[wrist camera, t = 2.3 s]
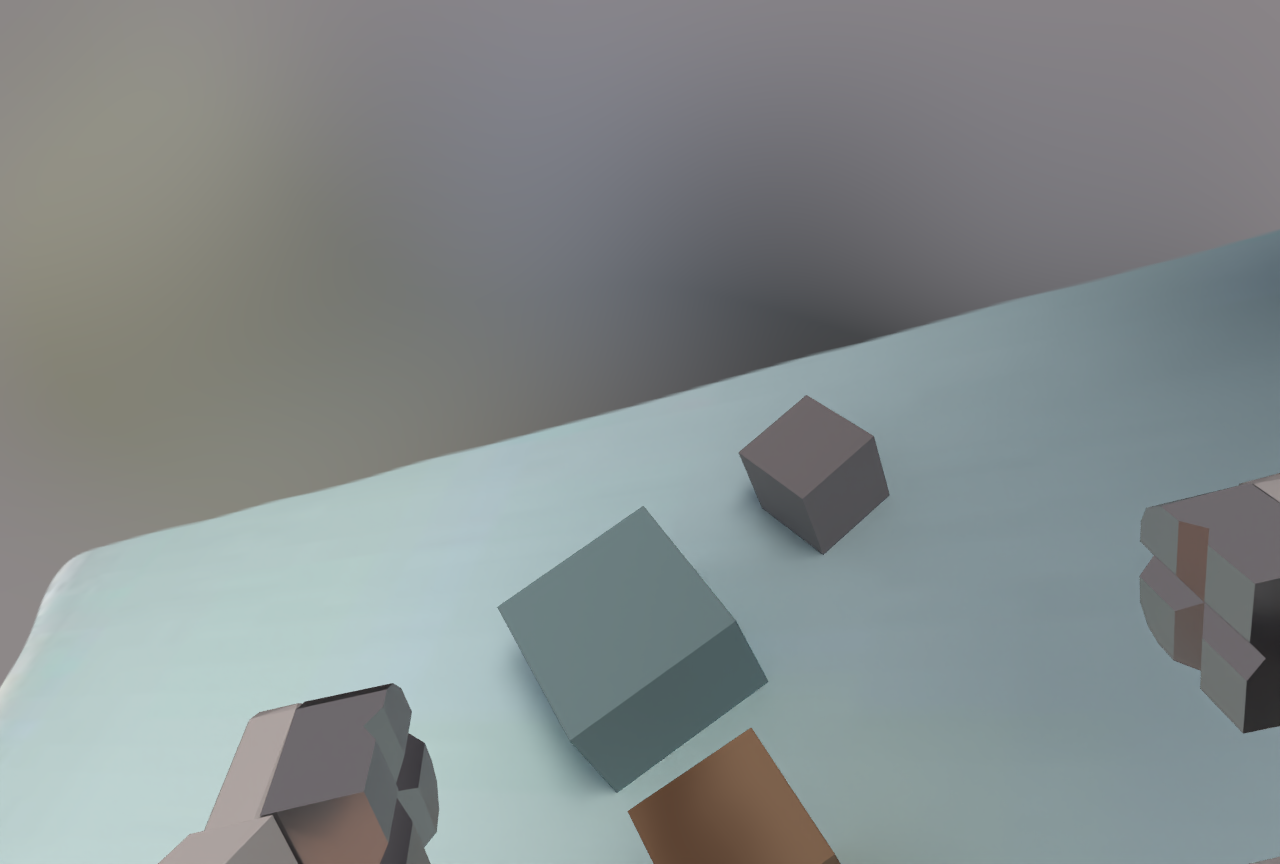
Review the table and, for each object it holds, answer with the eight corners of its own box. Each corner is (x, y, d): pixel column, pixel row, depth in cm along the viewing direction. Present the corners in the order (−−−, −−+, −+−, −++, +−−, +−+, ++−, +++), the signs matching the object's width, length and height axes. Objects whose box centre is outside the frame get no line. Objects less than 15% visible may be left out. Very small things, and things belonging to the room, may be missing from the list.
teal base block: (679, 569, 54) (643, 505, 49) (769, 683, 47) (735, 620, 43) (545, 664, 52) (497, 607, 48) (618, 794, 46) (569, 740, 42)
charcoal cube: (825, 453, 55) (806, 395, 52) (889, 495, 52) (873, 436, 48) (762, 508, 54) (738, 452, 51) (823, 555, 51) (802, 498, 47)
